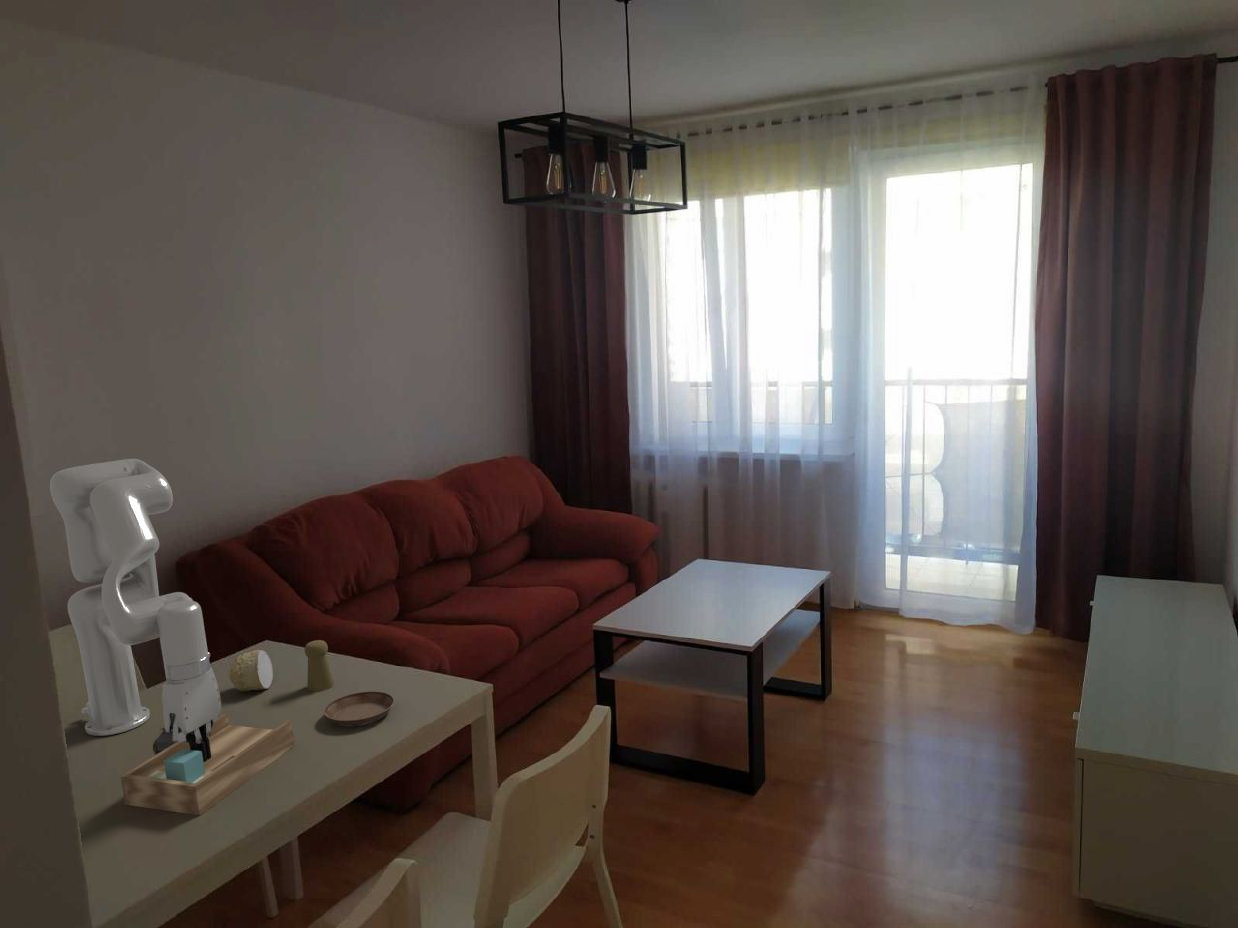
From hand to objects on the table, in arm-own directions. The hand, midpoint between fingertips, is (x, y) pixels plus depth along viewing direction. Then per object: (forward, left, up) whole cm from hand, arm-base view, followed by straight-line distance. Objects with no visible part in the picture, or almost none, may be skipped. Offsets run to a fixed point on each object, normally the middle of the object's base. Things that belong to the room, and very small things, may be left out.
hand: (201, 759), depth 169 cm
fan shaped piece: (-20, +14, -5) cm, 25 cm away
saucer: (+14, +31, -5) cm, 34 cm away
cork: (-5, +43, -5) cm, 43 cm away
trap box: (0, +3, -5) cm, 5 cm away
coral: (-21, +39, -5) cm, 45 cm away
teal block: (0, -4, -2) cm, 5 cm away
